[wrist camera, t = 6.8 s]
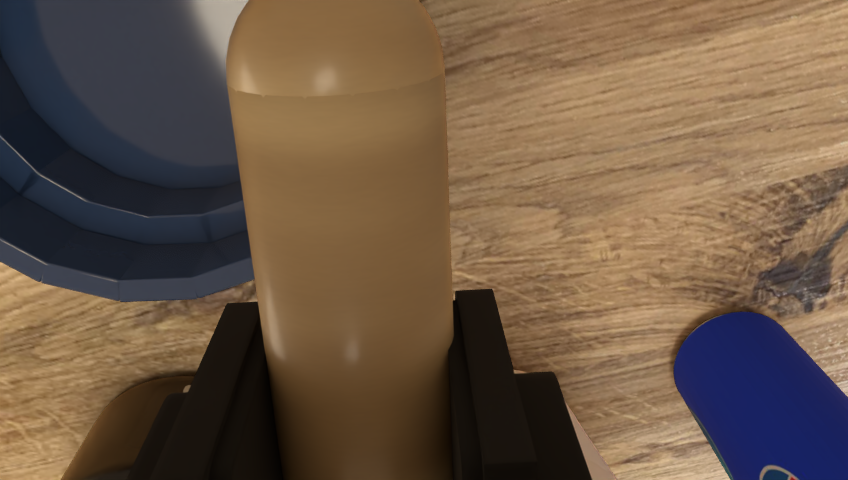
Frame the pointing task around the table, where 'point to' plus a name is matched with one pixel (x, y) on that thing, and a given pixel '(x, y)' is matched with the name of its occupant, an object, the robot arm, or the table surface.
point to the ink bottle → (122, 431)
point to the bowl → (120, 148)
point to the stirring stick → (348, 231)
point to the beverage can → (763, 401)
